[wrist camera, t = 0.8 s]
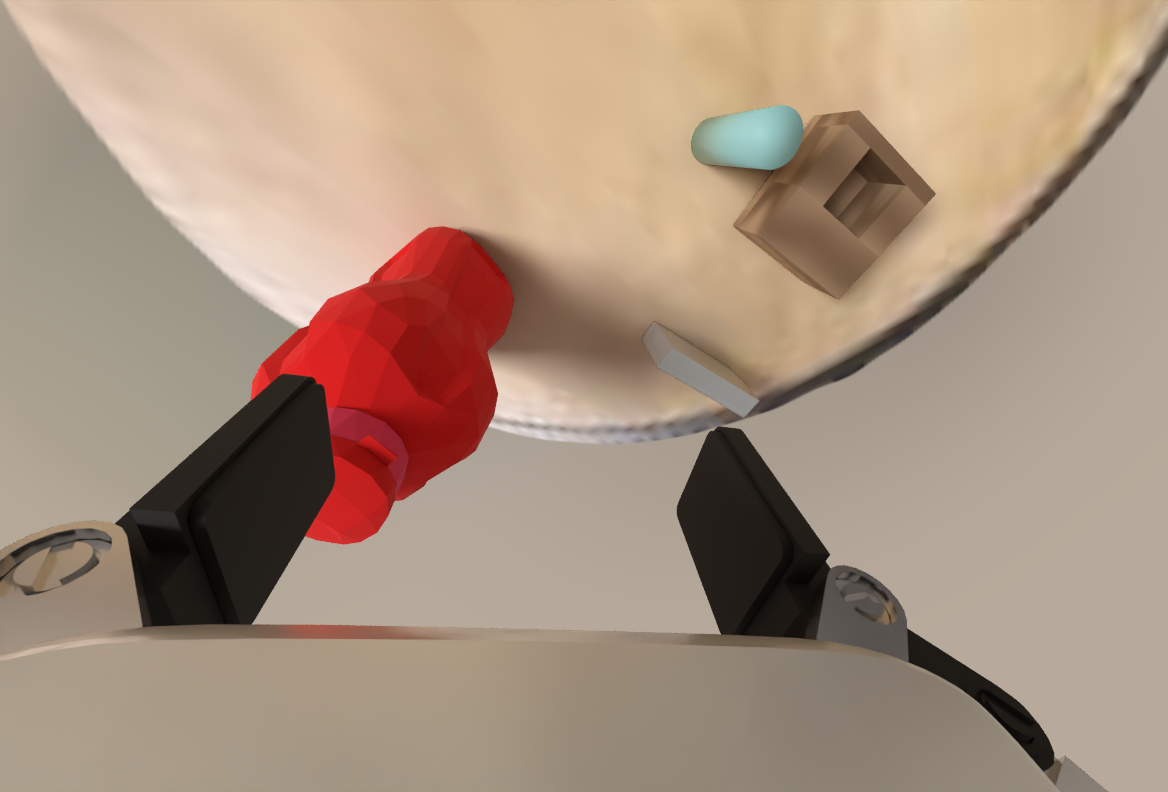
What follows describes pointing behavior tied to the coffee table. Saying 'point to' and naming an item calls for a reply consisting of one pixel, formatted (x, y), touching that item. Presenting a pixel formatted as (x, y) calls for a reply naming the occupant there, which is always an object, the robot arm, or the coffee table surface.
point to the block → (835, 203)
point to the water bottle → (401, 375)
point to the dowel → (749, 138)
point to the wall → (698, 370)
